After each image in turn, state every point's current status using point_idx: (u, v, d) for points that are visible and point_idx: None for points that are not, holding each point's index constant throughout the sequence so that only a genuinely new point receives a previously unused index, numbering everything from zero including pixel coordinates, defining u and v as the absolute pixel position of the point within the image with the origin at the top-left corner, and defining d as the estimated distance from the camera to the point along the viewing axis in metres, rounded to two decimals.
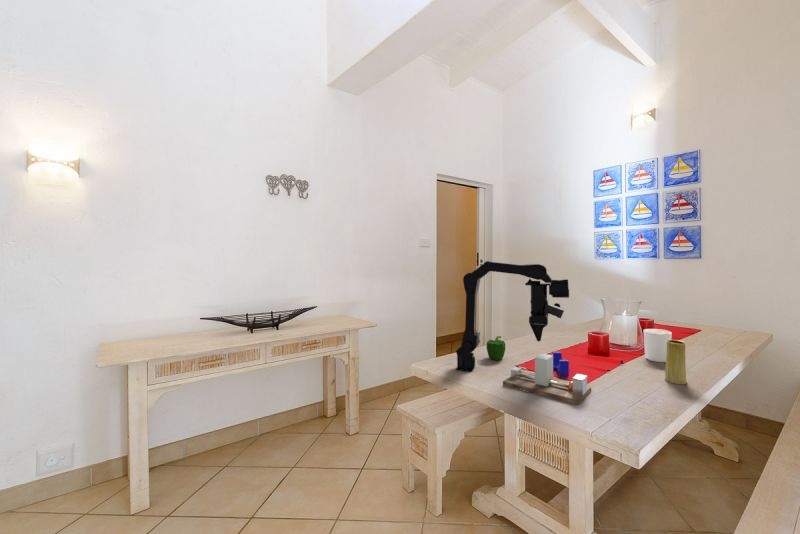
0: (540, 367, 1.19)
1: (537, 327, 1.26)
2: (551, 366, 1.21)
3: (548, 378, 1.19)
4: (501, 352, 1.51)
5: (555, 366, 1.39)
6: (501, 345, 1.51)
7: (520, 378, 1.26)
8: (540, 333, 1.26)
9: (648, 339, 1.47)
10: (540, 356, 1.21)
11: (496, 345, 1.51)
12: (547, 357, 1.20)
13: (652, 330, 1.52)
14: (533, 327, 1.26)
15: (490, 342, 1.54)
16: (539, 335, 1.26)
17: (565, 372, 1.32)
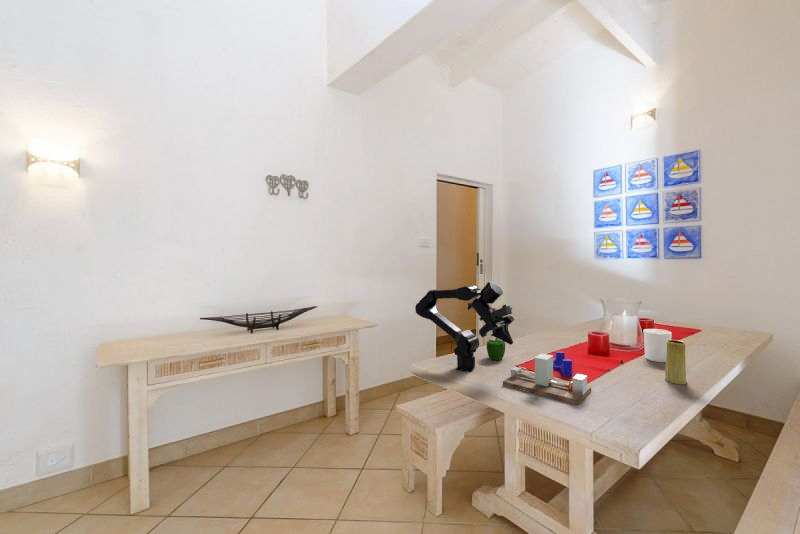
0: (540, 367, 1.19)
1: (500, 333, 1.30)
2: (551, 366, 1.21)
3: (548, 378, 1.19)
4: (501, 352, 1.51)
5: (558, 366, 1.38)
6: (501, 345, 1.51)
7: (520, 378, 1.26)
8: (505, 336, 1.29)
9: (648, 339, 1.47)
10: (540, 356, 1.21)
11: (496, 345, 1.51)
12: (547, 357, 1.20)
13: (652, 330, 1.52)
14: (497, 336, 1.31)
15: (490, 342, 1.54)
16: (507, 338, 1.29)
17: (568, 372, 1.31)
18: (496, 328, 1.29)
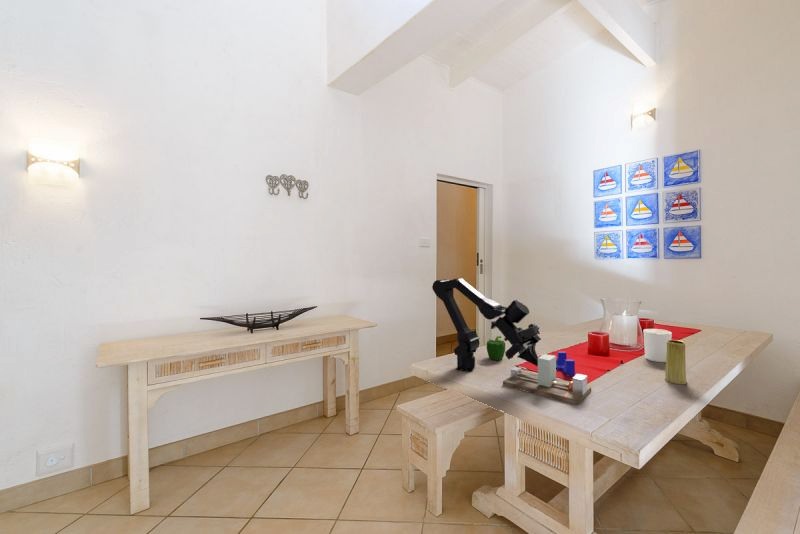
0: (542, 367, 1.18)
1: (527, 355, 1.23)
2: (554, 367, 1.20)
3: (551, 379, 1.18)
4: (501, 352, 1.51)
5: (560, 366, 1.38)
6: (501, 345, 1.51)
7: (520, 378, 1.26)
8: (533, 358, 1.22)
9: (648, 339, 1.47)
10: (543, 357, 1.20)
11: (496, 345, 1.51)
12: (550, 358, 1.19)
13: (652, 330, 1.52)
14: (524, 357, 1.24)
15: (490, 342, 1.54)
16: (534, 360, 1.22)
17: (571, 372, 1.31)
18: (523, 349, 1.22)
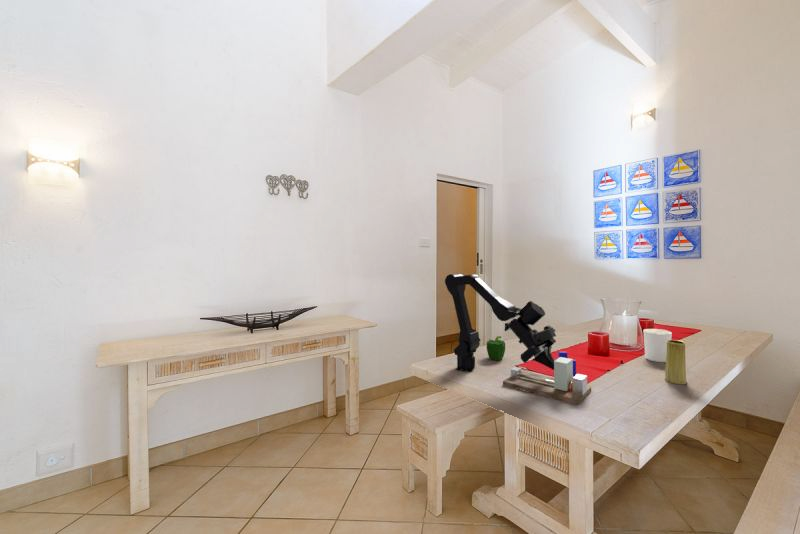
0: (559, 371, 1.14)
1: (542, 358, 1.20)
2: (571, 370, 1.16)
3: (568, 383, 1.14)
4: (501, 352, 1.51)
5: None
6: (501, 345, 1.51)
7: (520, 378, 1.26)
8: (549, 361, 1.18)
9: (648, 339, 1.47)
10: (559, 360, 1.17)
11: (496, 345, 1.51)
12: (567, 361, 1.15)
13: (652, 330, 1.52)
14: (539, 360, 1.20)
15: (490, 342, 1.54)
16: (550, 364, 1.18)
17: None
18: (539, 352, 1.18)
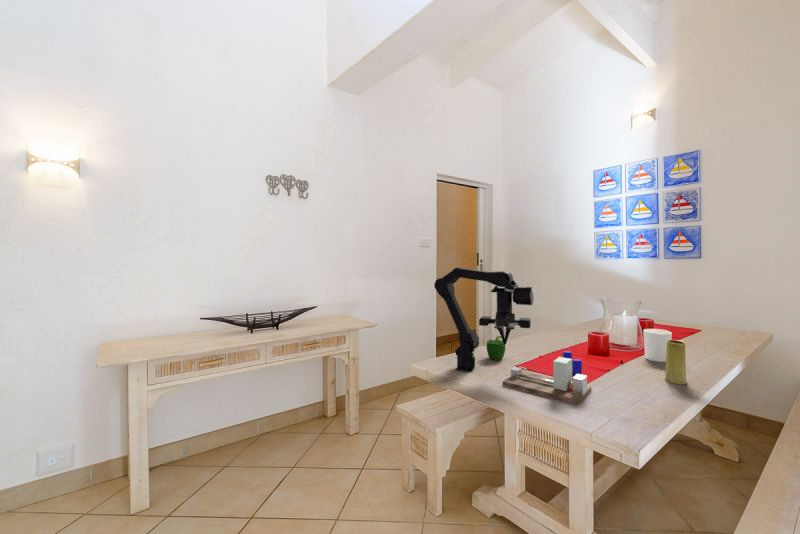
0: (558, 371, 1.15)
1: None
2: (570, 370, 1.16)
3: (567, 382, 1.14)
4: (501, 352, 1.51)
5: None
6: (501, 345, 1.51)
7: (520, 378, 1.26)
8: None
9: (648, 339, 1.47)
10: (559, 359, 1.17)
11: (496, 345, 1.51)
12: (566, 361, 1.15)
13: (652, 330, 1.52)
14: None
15: (490, 342, 1.54)
16: None
17: (578, 372, 1.32)
18: (495, 325, 1.35)
